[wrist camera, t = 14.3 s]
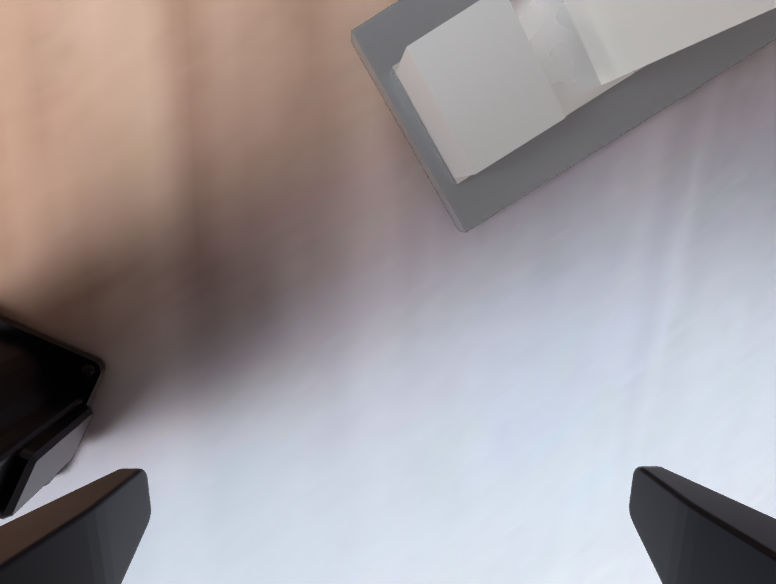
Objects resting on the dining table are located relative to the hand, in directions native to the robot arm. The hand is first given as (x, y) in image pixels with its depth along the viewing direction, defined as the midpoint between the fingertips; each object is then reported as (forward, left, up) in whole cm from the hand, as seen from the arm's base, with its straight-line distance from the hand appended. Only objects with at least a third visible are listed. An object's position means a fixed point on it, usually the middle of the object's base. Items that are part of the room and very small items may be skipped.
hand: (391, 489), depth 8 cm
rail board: (+3, +16, -13) cm, 21 cm away
